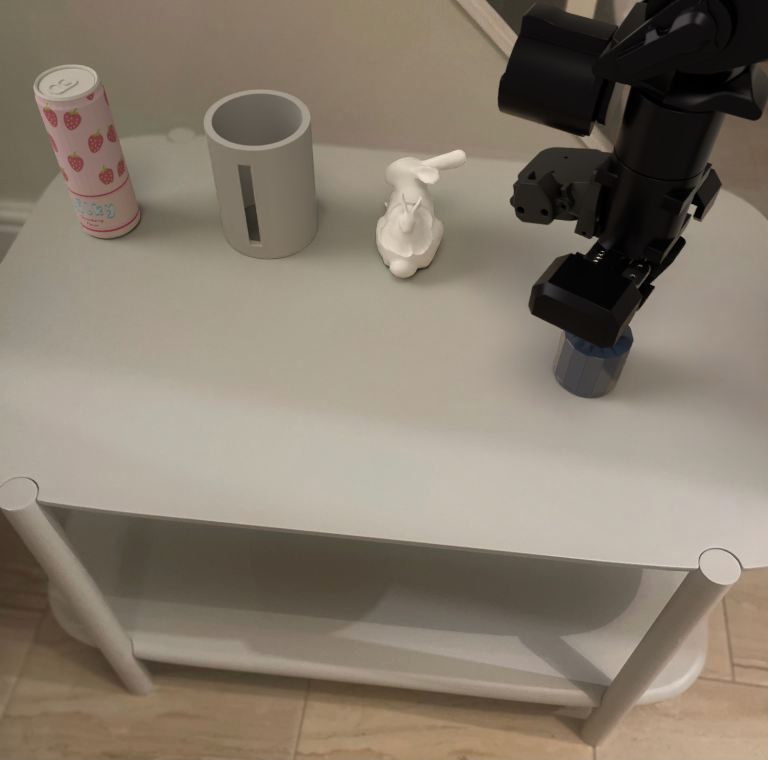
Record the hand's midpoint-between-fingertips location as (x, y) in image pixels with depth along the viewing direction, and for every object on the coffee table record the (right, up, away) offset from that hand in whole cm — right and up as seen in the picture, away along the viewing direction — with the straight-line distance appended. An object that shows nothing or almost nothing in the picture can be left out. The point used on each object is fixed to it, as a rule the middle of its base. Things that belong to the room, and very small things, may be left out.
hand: (602, 322), depth 62 cm
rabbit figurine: (-14, +8, +15) cm, 22 cm away
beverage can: (-44, +11, +16) cm, 48 cm away
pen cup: (0, -4, +5) cm, 6 cm away
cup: (-28, +10, +16) cm, 34 cm away
